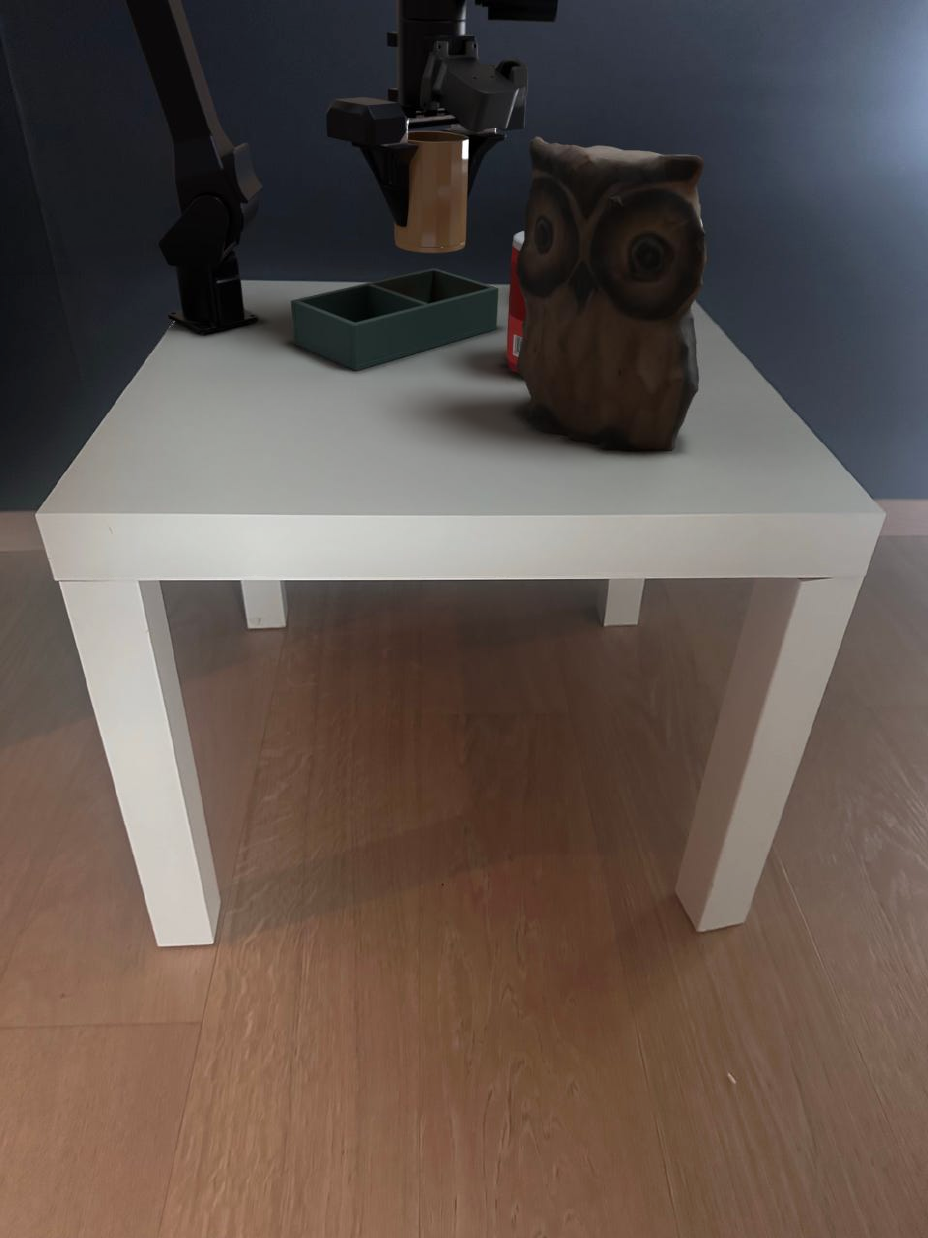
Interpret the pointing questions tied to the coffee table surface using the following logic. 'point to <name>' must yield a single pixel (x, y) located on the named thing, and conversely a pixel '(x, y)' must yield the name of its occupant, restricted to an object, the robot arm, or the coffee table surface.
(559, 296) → the owl
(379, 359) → the divided storage box
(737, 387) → the coffee table surface
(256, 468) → the coffee table surface
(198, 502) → the coffee table surface
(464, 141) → the bamboo cup
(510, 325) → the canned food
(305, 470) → the coffee table surface
